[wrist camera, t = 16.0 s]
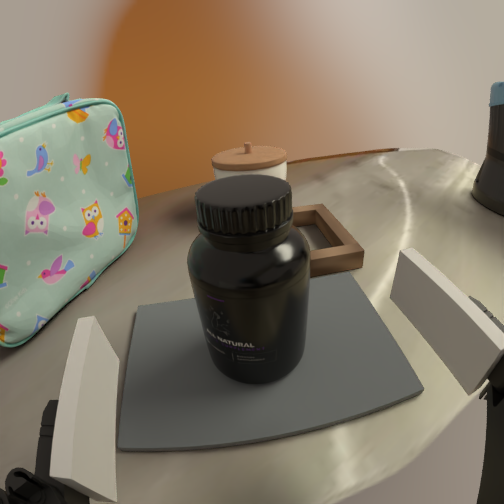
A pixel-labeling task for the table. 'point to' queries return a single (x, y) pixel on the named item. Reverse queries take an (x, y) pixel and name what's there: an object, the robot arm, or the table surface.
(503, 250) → the table surface
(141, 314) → the slate mat
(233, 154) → the lidded jar
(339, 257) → the walnut collar
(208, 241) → the supplement bottle
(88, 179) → the lunch box
